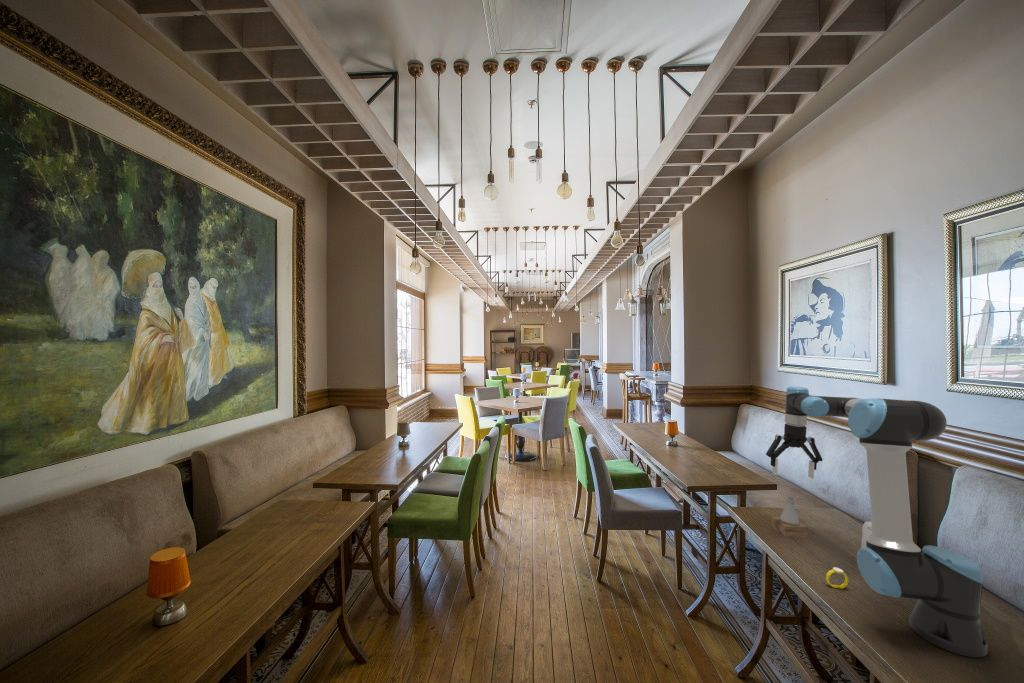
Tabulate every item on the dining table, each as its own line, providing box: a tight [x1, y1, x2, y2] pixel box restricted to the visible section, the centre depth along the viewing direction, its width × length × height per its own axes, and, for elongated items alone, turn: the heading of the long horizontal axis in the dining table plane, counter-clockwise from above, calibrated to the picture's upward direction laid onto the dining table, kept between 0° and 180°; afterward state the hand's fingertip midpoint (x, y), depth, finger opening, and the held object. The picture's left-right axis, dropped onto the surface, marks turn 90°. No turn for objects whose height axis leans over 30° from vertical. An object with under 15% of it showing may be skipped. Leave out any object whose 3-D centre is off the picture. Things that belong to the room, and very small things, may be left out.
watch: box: [825, 566, 849, 590], centre depth 139 cm, size 6×3×6 cm, turn 80°
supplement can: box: [860, 520, 872, 548], centre depth 152 cm, size 8×8×15 cm
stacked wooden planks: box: [771, 515, 809, 539], centre depth 176 cm, size 9×9×5 cm
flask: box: [779, 496, 801, 525], centre depth 176 cm, size 7×7×10 cm
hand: (792, 475), depth 175 cm, fingers open, 13 cm apart
